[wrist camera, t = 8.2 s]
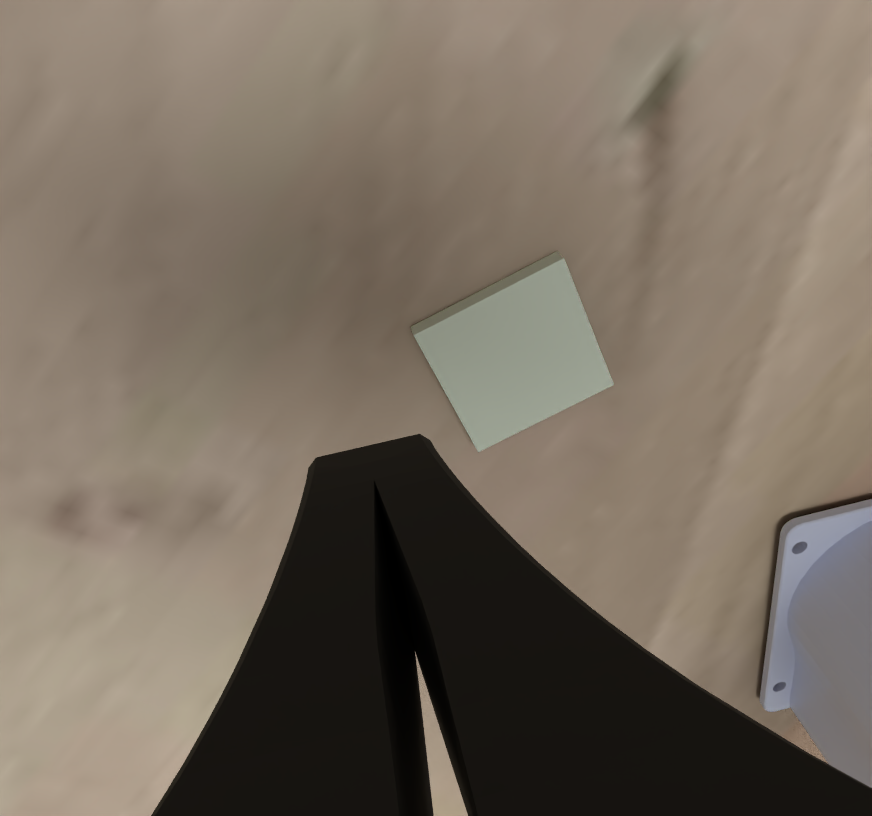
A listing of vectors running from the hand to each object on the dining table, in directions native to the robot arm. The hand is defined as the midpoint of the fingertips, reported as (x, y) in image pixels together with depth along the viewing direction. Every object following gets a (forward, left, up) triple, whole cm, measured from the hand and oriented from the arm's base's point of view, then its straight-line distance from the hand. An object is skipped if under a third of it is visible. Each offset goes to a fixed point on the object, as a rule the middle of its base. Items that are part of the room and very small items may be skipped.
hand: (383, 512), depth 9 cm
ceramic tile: (-4, -4, -10) cm, 12 cm away
